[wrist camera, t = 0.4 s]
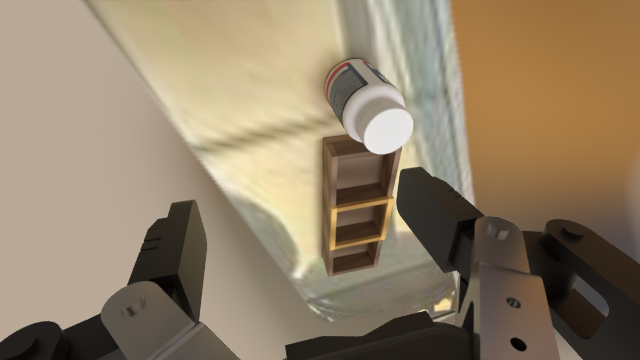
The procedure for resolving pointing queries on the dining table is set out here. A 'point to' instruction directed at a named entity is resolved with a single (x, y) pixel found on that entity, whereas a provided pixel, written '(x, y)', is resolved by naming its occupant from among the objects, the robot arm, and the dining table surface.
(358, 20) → the dining table surface
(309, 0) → the dining table surface
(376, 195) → the rack
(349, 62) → the pill bottle
